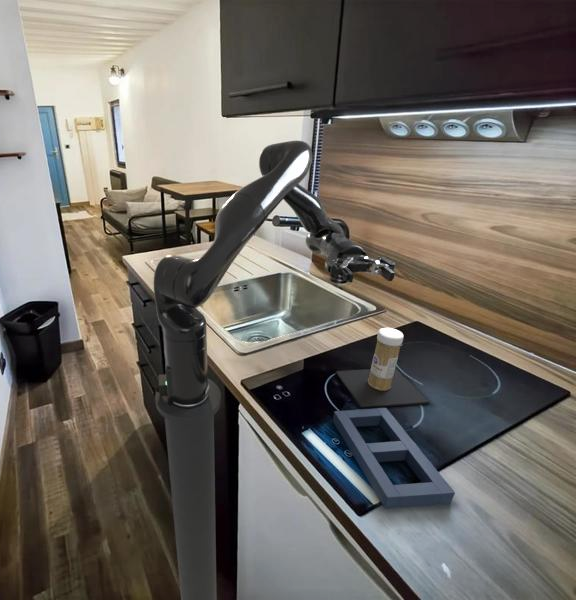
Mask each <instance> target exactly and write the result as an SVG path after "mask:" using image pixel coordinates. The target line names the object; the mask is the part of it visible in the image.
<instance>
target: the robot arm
mask: <svg viewBox="0 0 576 600" xmlns="http://www.w3.org/2000/svg"><path fill="white" fill-rule="evenodd" d="M258 160H259V161H258V167H259V172H260V174H261V176H260V177H258V178H257V179H255V180H252V181H251V182H250V183H248V184H246V185H244V186H243V187H241V188H239V189H238V190H237V191H235V193H233V194H232V195H231V196H230V197H229V199H228V200H227V201H226V202H225V203H224V204H223V205H222V206H221V207H220V209H219V210H218V212H217V213H216V216H215V221H214V233H213V234H214V238H213V242H212V243H211V245H210V246H209V247H208V249H207V250H206V251H205V252H204V253H203V255H201V257H199V258H197V259H194V258H190V257H186V256H181V255H178V254H169V255H166V256H163V257H162V258H161V259H160V260H159V262H158V263H157V265H156V267H155V269H154V273H153V294H154V301H155V309H156V314H157V321H158V322H159V324H160V326H161V328H162V338H163V349H164V351H163V352H164V362H165V364H164V365H165V366H164V367H165V368H164V369H165V374H163V373H162V374H158V383H157V384H156V385H154V391H155V393H156V392H159V395H160V396H168V405H174V406H176V407H179V408H184V409H191V408H196V407H199V406H201V405H202V404H204V403H205V402H206V400H207V399H208V389H209V385H208V379H209V378H208V375H209V373H208V336H207V335H208V333H207V319H206V317H205V316H204V314H203V313H202V312H201V311H200V310H199V309H198V308H199V307H202V305H204V304H205V303H206V302H207V301H208V300H209V299H210V297H211V296H212V295H213V293H214V292H215V290H216V289H217V288H218V286H219V284H220V283H221V281H222V279H223V278H224V276H225V275H226V274H227V271H228V270H229V269H230V267H231V265H232V264H233V262H234V261H235V260H236V258H237V257H238V256H239V254H241V251H242V250H243V249H244V248H245V246H246V245H247V244H248V243H249V241H250V240H251V239H252V238H253V237H254V236H255V234H257V232H258V231H259V229H260V228H261V227H262V226H263V224H264V223H265V222H266V220H268V218H269V216H270V215H271V214H272V213H273V211H275V209H276V208H277V207H278V206H279V205H280V203H282V201H284V202H285V203H286V204H287V205H288V207H290V209H291V210H292V211H293V212H294V214H295V215H296V217H297V219H298V220H299V222H300V224H301V225H302V227H303V229H304V230H305V231H306V232H307V233H308V234H307V236H306V237H305V244H306V246H307V248H308V250H309V251H311V252H312V253H314V254H316V255H318V256H322V257H323V256H324V257H326V258H325V261H324V269H325V271H326V272H327V273H328V276H329V277H336V276H338V277H339V278H342V279H343V280H344V281H346V282H347V283H353V280H354V274H355V273H360V274H362V273H364V274H368V275H371V276H374V275H378V276H381V277H382V278H383V279H385V280H386V281H387V282H393V280H394V279H395V274H396V272H395V266H396V263H395V262H393V261H391V260H389V259H388V258H386V257H385V256H383V255H381V256H378V257H377V259H376V258H371V257H368V255H367V253H366V251H365V249H363V248H362V247H361V246H360V245H358V244H357V243H355V241H353V240H352V239H350V238H347V237H345V236H344V230H343V228H342V227H341V225H340V224H339V223H338V222H337V221H335V220H333V219H332V218H331V217H330V216H329V215H328V213H327V212H326V209H325V207H324V205H323V204H322V202H321V200H320V198H318V197H317V196H316V195H315V194H313V193H312V192H311V191H310V190H307V188H305V187H303V186H302V185H300V184H301V182H302V181H303V180H304V179H305V178H306V176H307V175H308V173H309V171H310V169H311V167H312V163H313V151H312V148H311V145H309V144H308V142H306V141H302V140H289V141H283V142H276V143H272V144H269V145H266V146H265V147H264V148H263V149H262V151H261V152H260V155H259V159H258ZM371 268H372V269H371ZM379 269H380V270H379Z"/></svg>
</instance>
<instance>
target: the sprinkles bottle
mask: <svg viewBox="0 0 576 600" xmlns="http://www.w3.org/2000/svg"><path fill="white" fill-rule="evenodd" d="M404 337H405V336H404V334H403V332H402V331H400V330H398V329H396V328H393V327H381V328H380V329H378V332H377V336H376V345H375V351H374V354H373V358H372V362H371V367H370V369H371V372H370V376H369V379H368V383H369V385H370V386H371V387H372V388H374V389H376V390H380V391H386V390H389V389H390V388H391V381H392V378H393V375H394V371H395V368H396V366H397V363H398V359H399V353H400V349H401V346H402V344H403V341H404Z"/></svg>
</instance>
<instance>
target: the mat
mask: <svg viewBox="0 0 576 600" xmlns="http://www.w3.org/2000/svg"><path fill="white" fill-rule="evenodd" d="M370 372H371V368H367V369H365V368H364V369H352V370H338V371H337V370H336V371H335V374H336V375H337V377H338V379H339V380H340V381H341V383H342V384H343V385H344V387H345V388H346V389H347V391H348V392H349V393H350V395H351V397H352V398H353V399H354V401H355V402H356V403H357V405H358V406H359V408H360V409H375V408H387V407H388V408H389V407H402V406H416V405H428V404H430V401H429V400H428V399H427V398H426V397H425V396H424V395H423V394H422V393H421V392H420V390H418V389H417V388H416V387H415V386H414V385H413V384H412V383H411V382H410V381H409V379H407V378H406V377H405V376H404V374H402V373H401V371H399V370H398V368H396V367H395V371H394V375H393V378H392V381H391V388H390V389H389V390H386V391H380V390H376V389H374V388H372V387H371V386H370V385H369V383H368V379H369V376H370Z"/></svg>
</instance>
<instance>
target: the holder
mask: <svg viewBox="0 0 576 600" xmlns="http://www.w3.org/2000/svg"><path fill="white" fill-rule="evenodd" d="M332 423H333V424H334V426H335V427H336V429H337V431H338V432H339V434H340V437H342V440H343V441H344V442H345V444H346V446H347V447H348V449H349V451H350V453H351V454H352V456H353V458H354V459H355V461H356V463H357V464H358V466H359V468H360V469H361V472H362V473H363V474H364V476H365V478H366V480H367V481H368V483H369V485H370V486H371V488H372V490H373V491H374V493H375V495H376V497H377V499H378V500H379V502H380V504H381V506H382V507H383V509H397V508H399V509H400V508H410V507H413V508H414V507H425V506H439V505H451V504H452V501H453V499H454V497H455V494H456V492H455V490H453V489H452V487H451V486H450V485H449V484H448V482H447V481H446V480H445V478H444V477H443V476H442V475H441V474H440V472H439V471H438V470H437V468H436V467H435V466H434V465H433V464H432V462H431V461H430V460H429V459H428V458H427V456H426V455H425V453H424V452H423V451H422V450H421V449H420V447H419V446H418V445H417V444H416V442H415V441H414V440H413V439H412V437H410V435H409V434H408V433H407V431H406V430H405V429H404V428H403V426H402V425H401V424H400V423H399V421H398V420H397V419H396V418H395V416H394V415H393V414H392V413H391V412H390V411H389V410H388V408H387V407H375V408H360V409H349V410H348V409H347V410H336V411H335V410H333V417H332ZM375 426H379V428H380V429H381V430H382V431H383V433H384V434H385V435H386V437H387V438H388V440H390V441H383V442H380V441H379V442H367V443H366V441H365V440H364V438H363V437H362V435H361V434H360V432H359V431H358V429H357V428H359V427H375ZM401 461H405V462H406V463H407V465H408V467H409V468H410V469H411V470H412V472H413V473H414V474H415V476H416V478H418V480H419V481H420V482H416V483H401V484H393V483H392V481H391V480H390V478H389V476H388V475H387V474H386V472H385V470H384V469H383V467H382V466H381V465H380V463H384V462H401Z"/></svg>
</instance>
